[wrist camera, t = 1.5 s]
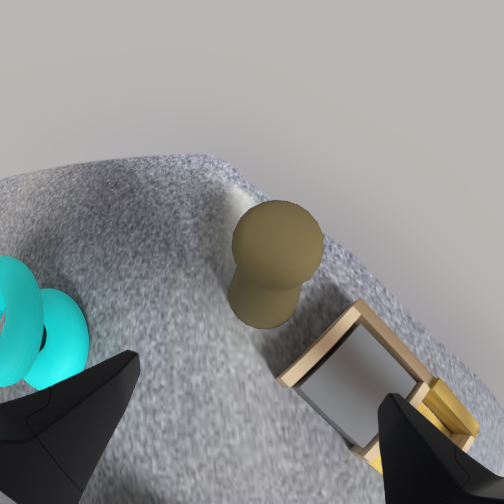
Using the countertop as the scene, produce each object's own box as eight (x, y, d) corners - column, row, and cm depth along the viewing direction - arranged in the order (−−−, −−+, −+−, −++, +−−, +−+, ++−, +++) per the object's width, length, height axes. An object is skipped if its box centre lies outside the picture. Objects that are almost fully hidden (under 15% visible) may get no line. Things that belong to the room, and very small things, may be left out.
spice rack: (409, 498, 15) (428, 507, 11) (275, 378, 21) (281, 378, 18) (461, 429, 18) (483, 430, 14) (347, 306, 24) (363, 294, 21)
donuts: (7, 411, 9) (-54, 347, 10) (81, 410, 18) (13, 367, 18) (45, 266, 14) (-20, 238, 14) (107, 311, 22) (38, 283, 23)
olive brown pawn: (303, 324, 23) (350, 277, 13) (231, 332, 22) (227, 289, 13) (292, 261, 26) (323, 182, 16) (226, 266, 25) (220, 186, 15)
